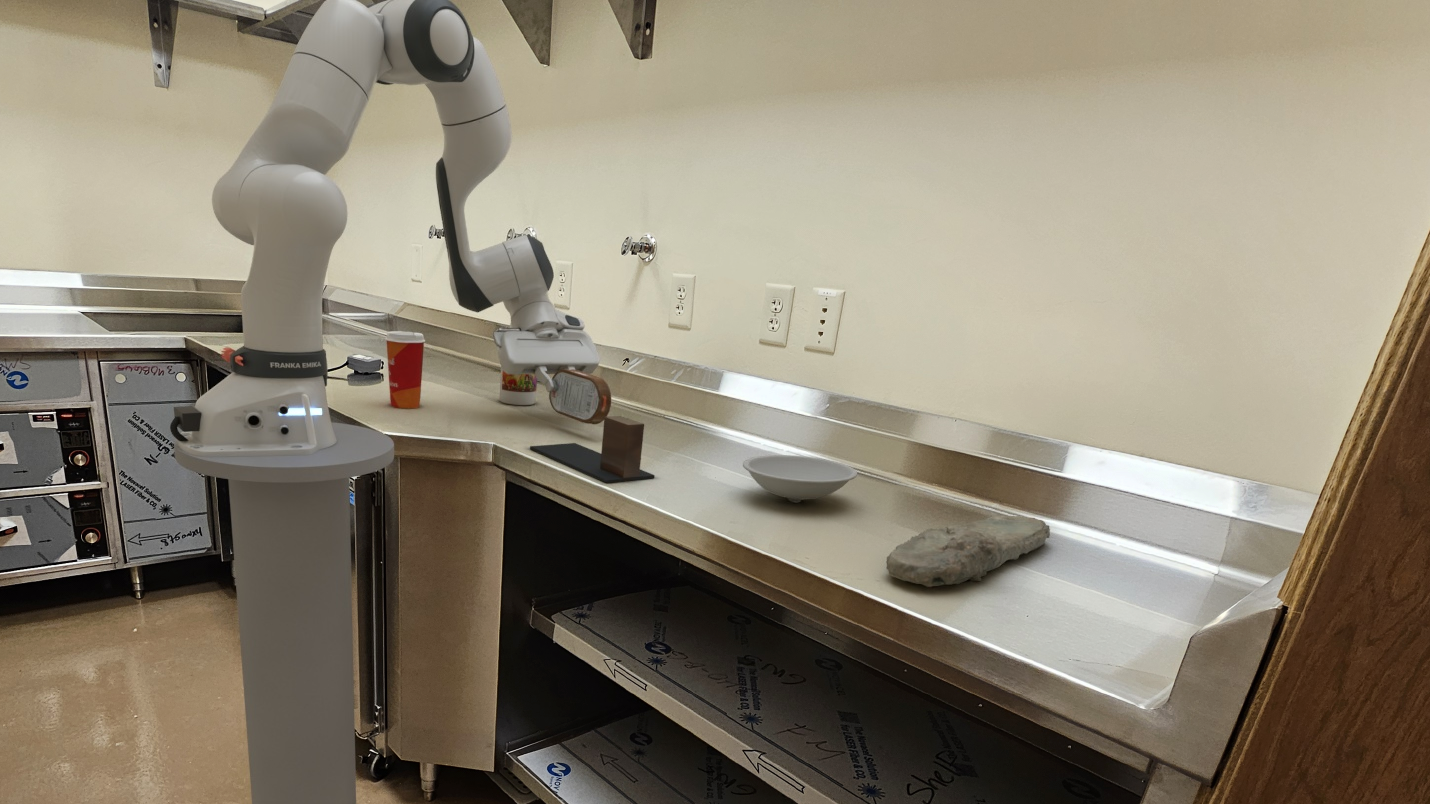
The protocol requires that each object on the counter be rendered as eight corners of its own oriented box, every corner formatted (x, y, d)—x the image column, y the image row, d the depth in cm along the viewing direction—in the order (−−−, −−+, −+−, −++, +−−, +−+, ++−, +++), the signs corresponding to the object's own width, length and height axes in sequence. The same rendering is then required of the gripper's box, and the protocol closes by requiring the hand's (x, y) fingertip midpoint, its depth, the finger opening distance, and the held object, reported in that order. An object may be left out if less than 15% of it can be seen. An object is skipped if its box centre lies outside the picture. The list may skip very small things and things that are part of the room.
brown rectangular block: (623, 478, 124) (628, 424, 121) (599, 468, 128) (604, 416, 126) (639, 476, 126) (644, 423, 123) (615, 466, 130) (620, 415, 127)
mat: (606, 483, 122) (606, 480, 122) (529, 449, 139) (529, 446, 139) (654, 478, 127) (654, 475, 127) (574, 445, 144) (574, 442, 144)
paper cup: (391, 400, 169) (390, 329, 165) (428, 404, 169) (429, 332, 164) (380, 407, 162) (379, 333, 157) (419, 411, 162) (420, 336, 157)
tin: (607, 429, 148) (617, 381, 146) (593, 427, 146) (604, 379, 144) (555, 410, 158) (564, 366, 156) (542, 408, 156) (551, 363, 154)
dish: (785, 521, 111) (791, 485, 110) (715, 492, 123) (720, 458, 121) (874, 509, 120) (881, 475, 119) (802, 483, 132) (807, 452, 130)
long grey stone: (1065, 556, 110) (989, 538, 117) (1074, 517, 109) (997, 502, 116) (948, 600, 87) (861, 574, 94) (958, 551, 85) (869, 528, 92)
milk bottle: (491, 400, 179) (495, 303, 172) (519, 398, 184) (523, 303, 177) (515, 407, 174) (520, 307, 167) (543, 404, 179) (548, 307, 172)
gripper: (496, 316, 150) (520, 380, 146) (589, 320, 162) (614, 379, 158) (483, 338, 155) (506, 401, 151) (575, 340, 167) (599, 398, 162)
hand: (562, 390), depth 154 cm, fingers closed on tin, 3 cm apart
